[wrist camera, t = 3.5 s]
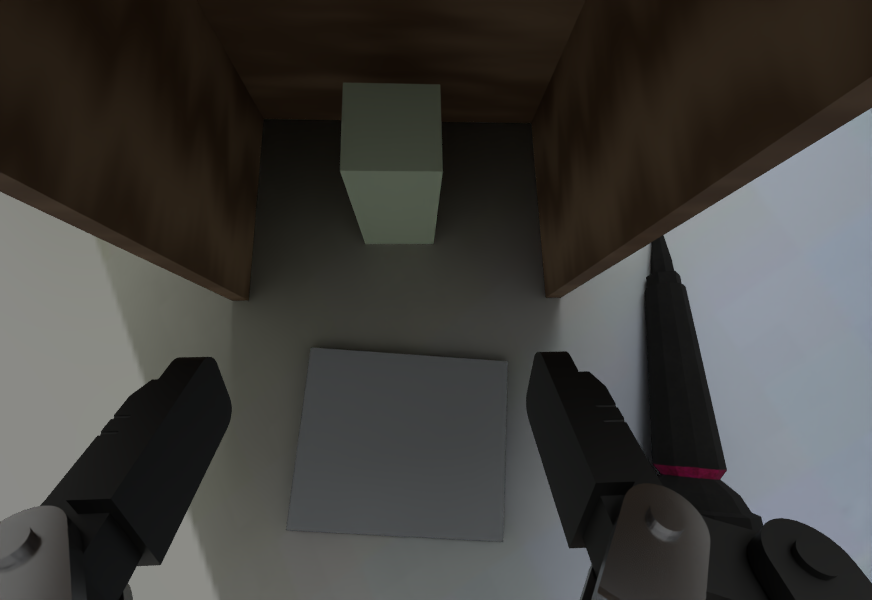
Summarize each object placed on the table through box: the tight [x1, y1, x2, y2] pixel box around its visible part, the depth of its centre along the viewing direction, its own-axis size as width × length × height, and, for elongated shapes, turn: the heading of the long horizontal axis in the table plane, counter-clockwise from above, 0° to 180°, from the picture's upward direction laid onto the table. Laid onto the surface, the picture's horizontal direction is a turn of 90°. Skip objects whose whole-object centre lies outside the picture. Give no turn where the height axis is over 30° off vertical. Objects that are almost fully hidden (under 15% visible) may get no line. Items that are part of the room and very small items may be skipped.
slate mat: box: [286, 347, 508, 542], centre depth 23 cm, size 12×10×1 cm
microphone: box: [645, 235, 763, 531], centre depth 23 cm, size 6×6×20 cm
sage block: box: [340, 83, 443, 244], centre depth 22 cm, size 4×4×9 cm
